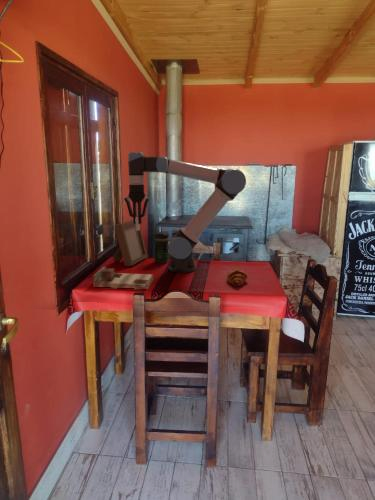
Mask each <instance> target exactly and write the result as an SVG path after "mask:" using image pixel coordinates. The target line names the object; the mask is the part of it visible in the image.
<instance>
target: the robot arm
mask: <svg viewBox="0 0 375 500" xmlns="http://www.w3.org/2000/svg"><path fill="white" fill-rule="evenodd" d="M127 159H128V161H127V164H128V183H129V185H128V191H129V192H128V196H126V197H124V199H123V200H124V201H125V202H126V207H127V209H128V210H127V211H128V213H129V214H128V215H129V217H132V218H133V219H132V220H134V224H136V231H139V230H140V228H141V224H142V218H143V217H145V216H146V212H147V207H148V202H149V201H150V200H151V199H150V198H149V197H147V196H146V194H145V184H144V183H145V173H163V174H168V175H169V174H170V175H174V176H178V177H183V178H187V179H193V180H196V181H200V182H201V181H202V182H204V183H205V182H206V183H209V184H213V185H214V191H213V192H212V194H210V196H209V197H208V198H207V200H206V201H205V202H204V204H203V205H202V206H201V207H200V208H199V209H198V211H197V212H196V213H195V214H194V216H193V217H191V220H190V221H189V222H188V223H187V224H186V225H185V226H184V227H181V228H174V229H172V232H171V235H172V236H171V239H170V240H169V255H171V258H170V262H169V264H168V266H169V267H168V269H169V271H171V272H174V273H178V274H179V273H191V272H195V271H196V270H197V268H196V267H197V266H196V262H195V259H194V249H195V247H196V246H197V245H198V243H199V238H200V236H201V235H202V234H203V233H204V231H206V229H207V228H208V226H210V224H211V223H212V222H213V220H214V219H215V218H216V217H217V215H218V214H219V213H220V212H221V211H222V209H223V208H224V207H225V206H226V205H227V203H228V202H232V201H234V199H235V198H236V197H237V196H238V195H239V194H240V193H242V192H243V190H244V189H245V187H246V185H247V178H246V175H245V173H244V172H243V171H242V170H240V169H238V168H223V167H218V168H213V167H207V166H205V165H199V164H194V163H190V162H185V161H180V160H175V159H170V158H168V157H167V156H145V155H144V153H143V152H139V151H137V152H135V151H134V152H129V153H128V158H127ZM143 200H144V203H143V207H142V202H143ZM130 201H131V202H132V206H131V202H130Z"/></svg>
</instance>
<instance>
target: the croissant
mask: <svg viewBox="0 0 375 500" xmlns="http://www.w3.org/2000/svg"><path fill="white" fill-rule="evenodd" d="M226 279H227V281H228V283H230V284H231V285H233V286H235V287H236V286H237V287H238V286H239V287H240V286H243V285H244V284H245V282H246V280H248V274H247V273H246V272H245V271H242V270H241V269H238V268H237V269H236V268H235V269H234V268H233V269H231V270H230V271H228V273H227V275H226Z"/></svg>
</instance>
